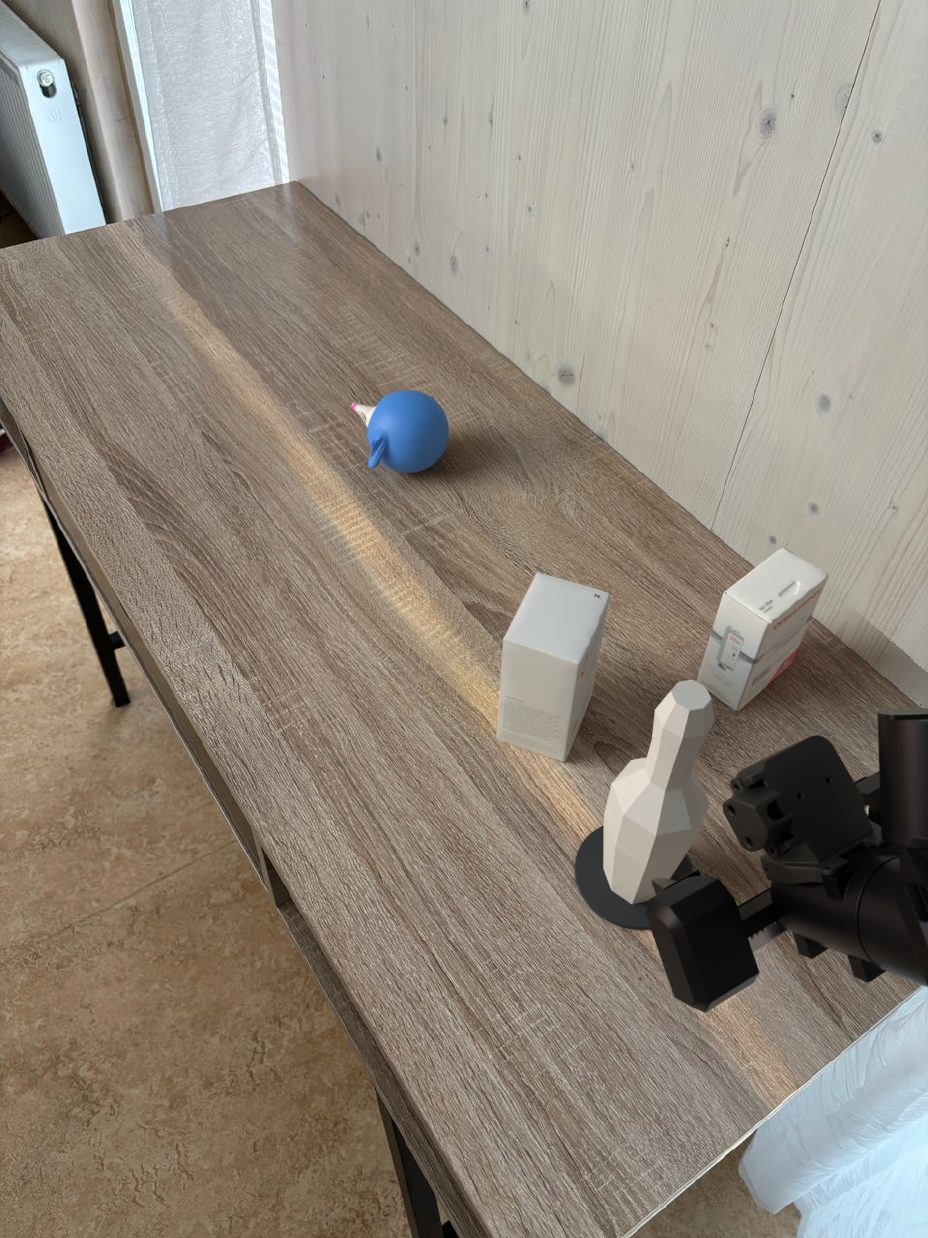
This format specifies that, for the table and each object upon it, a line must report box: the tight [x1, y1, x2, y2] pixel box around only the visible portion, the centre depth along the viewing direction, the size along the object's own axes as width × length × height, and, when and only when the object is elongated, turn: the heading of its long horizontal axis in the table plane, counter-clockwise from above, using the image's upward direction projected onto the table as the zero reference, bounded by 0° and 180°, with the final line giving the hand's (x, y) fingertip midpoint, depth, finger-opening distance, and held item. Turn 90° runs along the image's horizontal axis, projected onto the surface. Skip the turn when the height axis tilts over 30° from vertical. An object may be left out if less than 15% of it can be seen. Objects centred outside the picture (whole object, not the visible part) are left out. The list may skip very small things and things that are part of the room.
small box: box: [495, 571, 611, 763], centre depth 82 cm, size 8×6×13 cm
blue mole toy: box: [350, 389, 450, 474], centre depth 108 cm, size 12×12×8 cm
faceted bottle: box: [603, 679, 715, 904], centre depth 69 cm, size 6×6×22 cm
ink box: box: [696, 547, 830, 712], centre depth 87 cm, size 9×5×12 cm, turn 133°
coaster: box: [574, 824, 694, 931], centre depth 77 cm, size 9×9×1 cm
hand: (713, 854), depth 65 cm, fingers open, 9 cm apart
